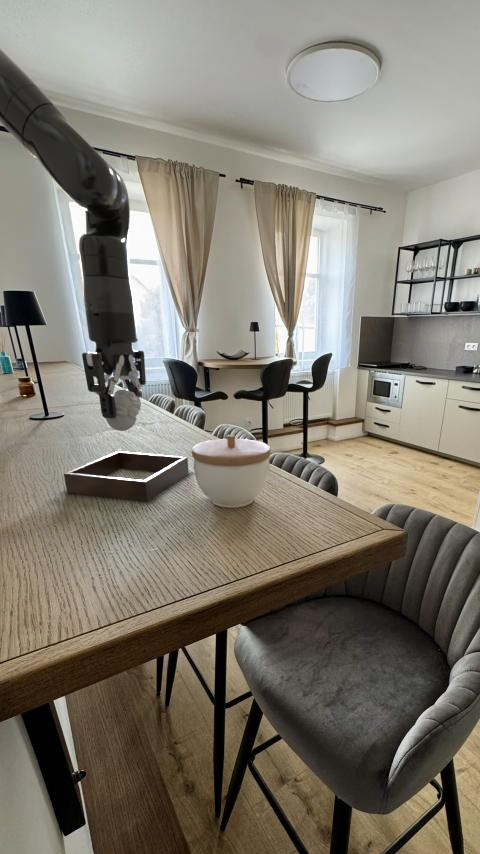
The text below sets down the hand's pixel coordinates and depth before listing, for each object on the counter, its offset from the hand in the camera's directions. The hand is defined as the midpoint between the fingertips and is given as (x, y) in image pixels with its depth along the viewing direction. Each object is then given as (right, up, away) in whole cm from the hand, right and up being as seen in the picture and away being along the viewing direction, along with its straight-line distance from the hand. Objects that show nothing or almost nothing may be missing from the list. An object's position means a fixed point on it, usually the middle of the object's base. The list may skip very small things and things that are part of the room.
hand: (122, 413), depth 72 cm
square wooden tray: (0, -12, +5) cm, 13 cm away
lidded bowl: (+20, -15, -2) cm, 25 cm away
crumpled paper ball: (0, -3, +1) cm, 3 cm away
